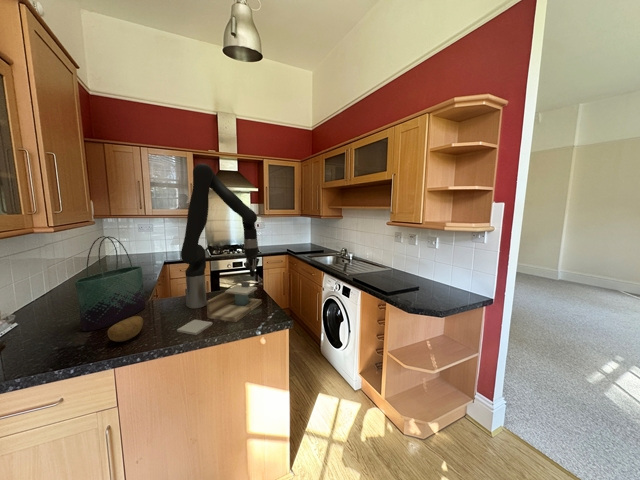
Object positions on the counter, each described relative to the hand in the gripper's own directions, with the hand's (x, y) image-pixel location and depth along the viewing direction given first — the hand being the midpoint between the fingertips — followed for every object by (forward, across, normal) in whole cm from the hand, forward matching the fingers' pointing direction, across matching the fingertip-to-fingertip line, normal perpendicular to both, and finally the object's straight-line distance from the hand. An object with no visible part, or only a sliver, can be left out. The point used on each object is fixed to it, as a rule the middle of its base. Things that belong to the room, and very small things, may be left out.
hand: (252, 276), depth 145 cm
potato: (+13, +53, -26) cm, 61 cm away
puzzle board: (+14, +16, 0) cm, 21 cm away
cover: (+5, +11, 0) cm, 12 cm away
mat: (+14, +38, -6) cm, 41 cm away
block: (+14, +11, 0) cm, 18 cm away
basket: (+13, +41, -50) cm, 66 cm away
